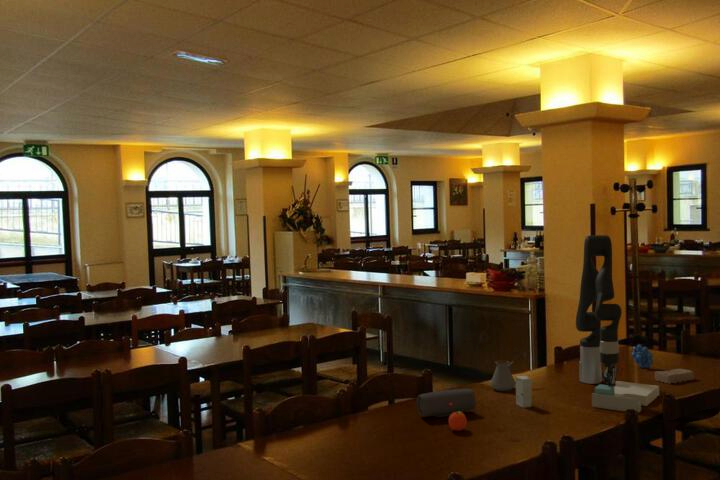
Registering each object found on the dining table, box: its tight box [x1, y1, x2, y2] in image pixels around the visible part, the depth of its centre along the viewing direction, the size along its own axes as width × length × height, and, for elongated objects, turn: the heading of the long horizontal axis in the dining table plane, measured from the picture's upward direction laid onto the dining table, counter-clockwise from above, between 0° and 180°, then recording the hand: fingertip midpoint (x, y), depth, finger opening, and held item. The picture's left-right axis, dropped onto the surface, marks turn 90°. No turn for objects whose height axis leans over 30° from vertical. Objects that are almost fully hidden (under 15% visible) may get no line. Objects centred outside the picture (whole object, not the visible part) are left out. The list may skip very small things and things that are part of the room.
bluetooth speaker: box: [416, 388, 477, 418], centre depth 268 cm, size 23×9×10 cm, turn 105°
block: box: [594, 383, 615, 396], centre depth 272 cm, size 6×6×4 cm
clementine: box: [448, 411, 468, 432], centre depth 249 cm, size 8×7×7 cm
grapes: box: [631, 344, 655, 369], centre depth 333 cm, size 12×7×12 cm, turn 36°
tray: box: [591, 380, 660, 414], centre depth 277 cm, size 18×31×6 cm, turn 141°
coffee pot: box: [490, 351, 527, 392], centre depth 307 cm, size 21×12×15 cm, turn 125°
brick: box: [654, 368, 695, 385], centre depth 307 cm, size 17×8×5 cm, turn 113°
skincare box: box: [515, 375, 532, 409], centre depth 277 cm, size 6×4×12 cm
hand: (610, 392), depth 275 cm, fingers closed
